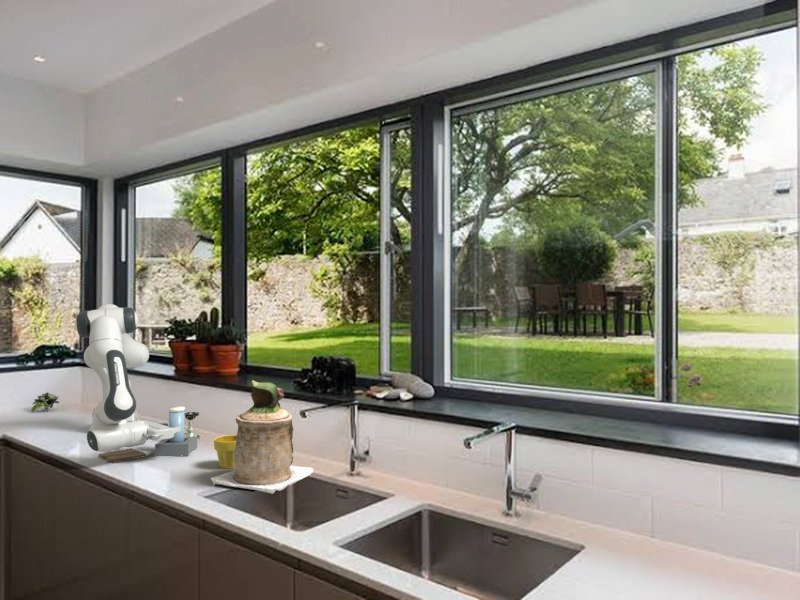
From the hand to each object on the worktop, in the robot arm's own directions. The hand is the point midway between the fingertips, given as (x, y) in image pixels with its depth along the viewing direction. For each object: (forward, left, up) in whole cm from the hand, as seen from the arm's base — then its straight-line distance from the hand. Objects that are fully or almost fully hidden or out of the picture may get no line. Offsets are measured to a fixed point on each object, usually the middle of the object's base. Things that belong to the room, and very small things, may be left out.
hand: (173, 426), depth 226 cm
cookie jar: (+35, +39, -10) cm, 54 cm away
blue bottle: (-1, +1, -10) cm, 10 cm away
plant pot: (+19, +25, -10) cm, 33 cm away
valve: (-16, +2, -10) cm, 19 cm away
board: (+4, -17, -10) cm, 20 cm away
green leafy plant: (-91, -92, -10) cm, 130 cm away
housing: (-1, +1, -10) cm, 10 cm away
